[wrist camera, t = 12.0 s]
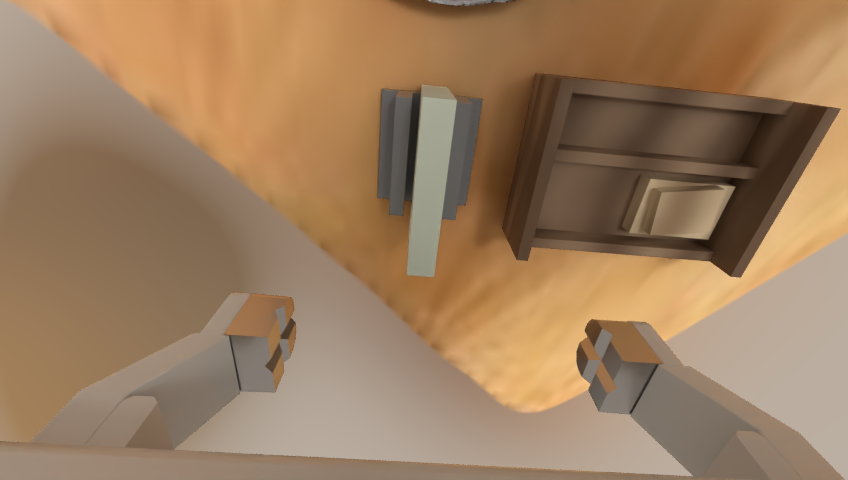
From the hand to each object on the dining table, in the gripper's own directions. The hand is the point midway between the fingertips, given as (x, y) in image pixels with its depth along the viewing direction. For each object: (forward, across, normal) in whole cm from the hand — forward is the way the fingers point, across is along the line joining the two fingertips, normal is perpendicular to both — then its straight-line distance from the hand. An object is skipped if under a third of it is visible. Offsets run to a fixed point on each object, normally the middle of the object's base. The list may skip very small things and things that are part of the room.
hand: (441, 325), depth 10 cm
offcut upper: (+18, -19, +2) cm, 26 cm away
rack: (+20, -15, 0) cm, 25 cm away
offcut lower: (+19, -19, +2) cm, 27 cm away
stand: (+20, 0, 0) cm, 20 cm away
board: (+19, 0, +1) cm, 19 cm away
